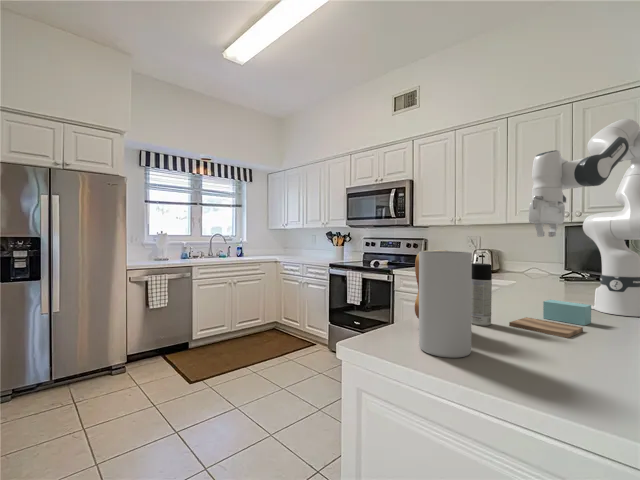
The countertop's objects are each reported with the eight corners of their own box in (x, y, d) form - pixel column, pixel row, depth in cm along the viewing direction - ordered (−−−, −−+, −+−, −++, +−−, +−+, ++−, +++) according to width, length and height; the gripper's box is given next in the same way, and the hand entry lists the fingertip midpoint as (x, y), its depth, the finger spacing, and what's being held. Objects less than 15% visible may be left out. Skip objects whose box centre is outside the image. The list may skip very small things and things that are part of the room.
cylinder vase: (408, 345, 88) (409, 251, 88) (446, 340, 93) (446, 250, 92) (442, 361, 76) (442, 253, 76) (482, 355, 81) (483, 252, 81)
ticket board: (526, 320, 115) (526, 316, 115) (582, 331, 102) (582, 326, 102) (509, 325, 108) (509, 321, 108) (567, 338, 95) (567, 333, 95)
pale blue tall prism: (550, 315, 121) (550, 299, 121) (591, 322, 112) (591, 305, 112) (543, 318, 118) (543, 301, 118) (584, 325, 108) (584, 307, 108)
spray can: (486, 321, 114) (486, 263, 114) (495, 326, 107) (495, 264, 107) (466, 320, 115) (466, 263, 114) (473, 326, 108) (473, 264, 108)
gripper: (544, 194, 108) (543, 236, 108) (568, 198, 120) (568, 236, 120) (523, 196, 113) (523, 236, 113) (548, 200, 125) (548, 236, 125)
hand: (546, 236), depth 117 cm, fingers open, 8 cm apart
